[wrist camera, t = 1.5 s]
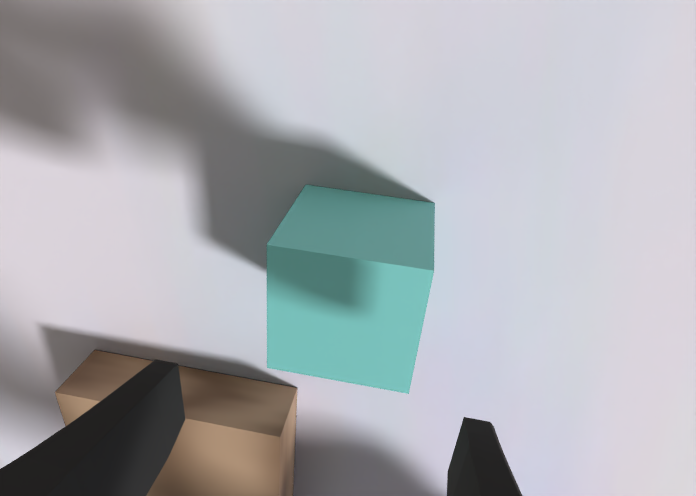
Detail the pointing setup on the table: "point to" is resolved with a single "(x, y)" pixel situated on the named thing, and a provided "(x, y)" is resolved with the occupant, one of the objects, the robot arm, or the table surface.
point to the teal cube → (349, 286)
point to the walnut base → (206, 428)
